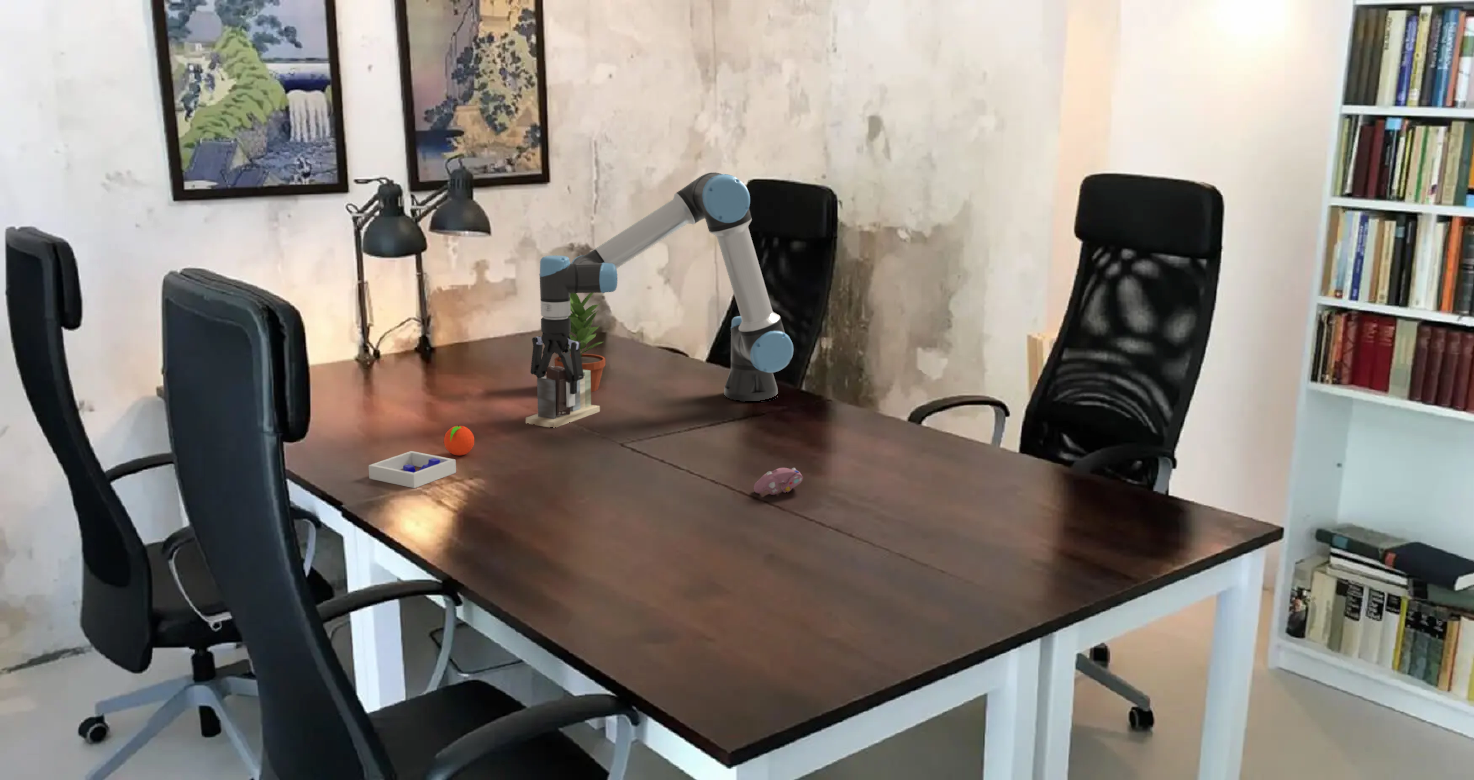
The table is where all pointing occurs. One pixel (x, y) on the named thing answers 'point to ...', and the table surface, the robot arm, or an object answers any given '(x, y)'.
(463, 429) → the clementine
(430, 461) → the cable holder
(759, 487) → the video game controller
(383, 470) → the desk organiser frame
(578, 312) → the potted plant
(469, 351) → the table surface
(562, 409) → the box
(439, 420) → the table surface
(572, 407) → the book rack
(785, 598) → the table surface
